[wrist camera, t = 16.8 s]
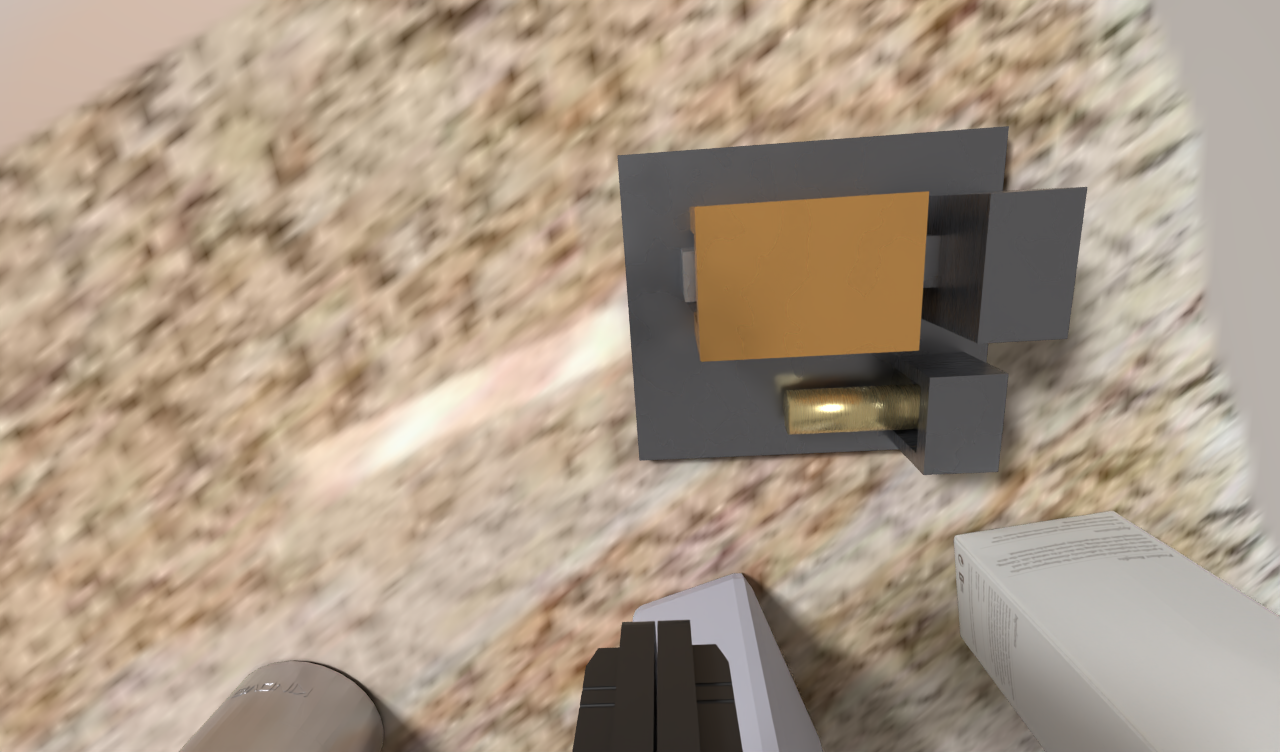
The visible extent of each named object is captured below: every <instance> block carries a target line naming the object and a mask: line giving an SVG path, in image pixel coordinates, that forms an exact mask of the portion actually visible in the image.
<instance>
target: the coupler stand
mask: <svg viewBox="0 0 1280 752" xmlns="http://www.w3.org/2000/svg"><path fill="white" fill-rule="evenodd" d="M1008 129H1009V126H1007V127H993V128H980V129H967V130H953V131H940V132H926V133H913V134H900V135H886V136H873V137H859V138H846V139H833V140H819V141H806V142H792V143H779V144H766V145H752V146H739V147H725V148H712V149H699V150H685V151H672V152H658V153H645V154H632V155H618V169H619V183H620V196H621V210H622V224H623V238H624V252H625V266H626V280H627V293H628V307H629V321H630V335H631V349H632V363H633V377H634V391H635V404H636V418H637V432H638V446H639V460H662V459H686V458H709V457H732V456H755V455H779V454H802V453H825V452H849V451H872V450H895V449H899V450H900V451H901V452H902V453H903V454H904V455H905V456H906V457H907V458H908V459H909V460H910V461H911V462H912V463H913V464H914V466H915V467H916V468H917V469H918V470H919V471H920V472H921V473H922V474H923V475H932V474H957V473H981V472H998V468H999V459H1000V449H1001V440H1002V431H1003V421H1004V412H1005V402H1006V393H1007V383H1008V373H1006V372H1004V371H1002V370H1000V369H998V368H996V367H994V366H992V365H990V364H988V363H986V361H987V351H988V343H998V342H1017V341H1036V340H1055V339H1067V338H1068V330H1069V323H1070V315H1071V307H1072V300H1073V292H1074V285H1075V277H1076V269H1077V262H1078V254H1079V247H1080V239H1081V231H1082V224H1083V216H1084V208H1085V201H1086V193H1087V187H1076V188H1054V189H1032V190H1010V191H1003V182H1004V171H1005V161H1006V150H1007V139H1008ZM926 191H929V203H928V219H927V235H926V250H925V266H924V281H923V297H922V313H921V328H920V344H919V351H901V352H881V353H862V354H842V355H823V356H803V357H784V358H764V359H745V360H725V361H706V362H701V361H700V357H699V352H698V347H697V342H696V338H695V327H694V313H695V312H697V299H696V274H695V248H694V234H693V233H692V232H691V229H690V207H695V206H710V205H725V204H740V203H755V202H769V201H784V200H799V199H814V198H829V197H844V196H859V195H874V194H890V193H908V192H926ZM904 384H918V385H920V386H921V391H920V407H919V422H918V429H904V430H882V431H859V432H837V433H815V434H793V435H788V433H787V431H786V428H785V422H784V413H783V398H784V392H785V391H786V390H803V389H823V388H843V387H864V386H884V385H904Z"/></svg>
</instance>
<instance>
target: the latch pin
mask: <svg viewBox="0 0 1280 752" xmlns="http://www.w3.org/2000/svg"><path fill="white" fill-rule="evenodd" d="M920 391H921V386H920V385H918V384H904V385H884V386H864V387H843V388H823V389H803V390H786V391H785V392H784V398H783V413H784V422H785V428H786V431H787V433H788V435H793V434H815V433H837V432H859V431H882V430H904V429H918V422H919V407H920Z"/></svg>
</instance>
